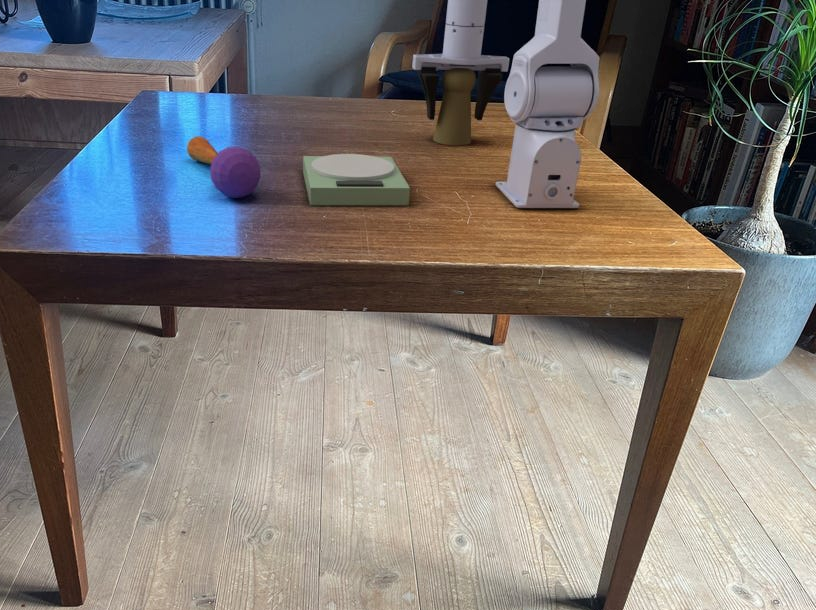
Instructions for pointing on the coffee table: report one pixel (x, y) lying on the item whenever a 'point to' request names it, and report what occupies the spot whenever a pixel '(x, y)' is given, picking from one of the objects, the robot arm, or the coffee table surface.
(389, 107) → the coffee table surface
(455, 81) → the cork
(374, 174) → the scale
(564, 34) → the robot arm
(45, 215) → the coffee table surface
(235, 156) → the maraca
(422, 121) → the coffee table surface
